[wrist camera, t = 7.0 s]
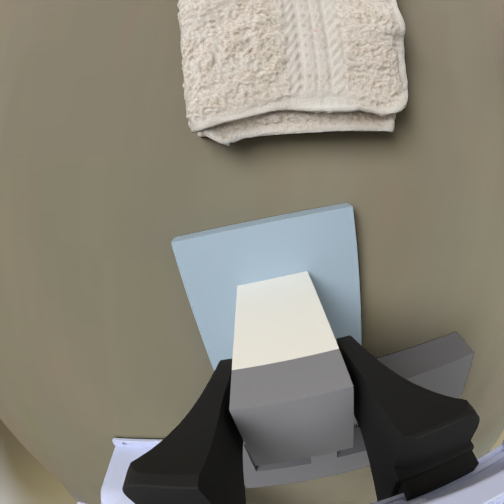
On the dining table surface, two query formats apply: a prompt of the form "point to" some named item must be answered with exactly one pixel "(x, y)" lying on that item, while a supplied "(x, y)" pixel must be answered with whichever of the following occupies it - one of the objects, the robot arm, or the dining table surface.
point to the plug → (288, 373)
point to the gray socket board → (404, 364)
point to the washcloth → (291, 66)
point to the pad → (271, 269)
